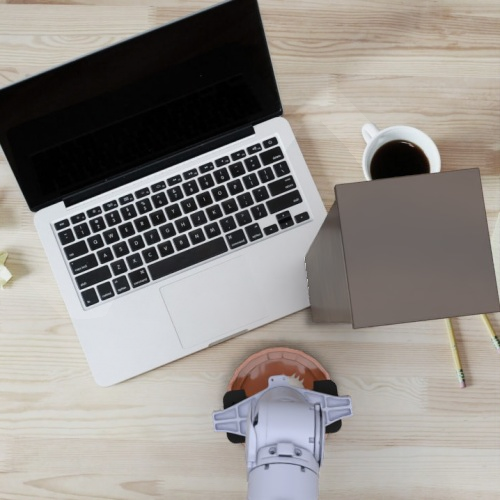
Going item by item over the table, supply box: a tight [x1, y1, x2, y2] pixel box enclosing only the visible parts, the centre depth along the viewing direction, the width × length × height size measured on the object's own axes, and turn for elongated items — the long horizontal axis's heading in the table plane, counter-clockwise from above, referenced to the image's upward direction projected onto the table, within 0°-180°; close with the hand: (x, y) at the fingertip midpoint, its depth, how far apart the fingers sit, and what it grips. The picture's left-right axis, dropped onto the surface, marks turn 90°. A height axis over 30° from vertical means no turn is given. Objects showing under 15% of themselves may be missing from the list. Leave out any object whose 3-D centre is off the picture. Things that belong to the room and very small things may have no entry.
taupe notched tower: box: [304, 166, 500, 330], centre depth 65 cm, size 9×9×47 cm
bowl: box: [226, 345, 332, 448], centre depth 85 cm, size 13×13×4 cm
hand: (281, 403), depth 83 cm, fingers open, 7 cm apart
